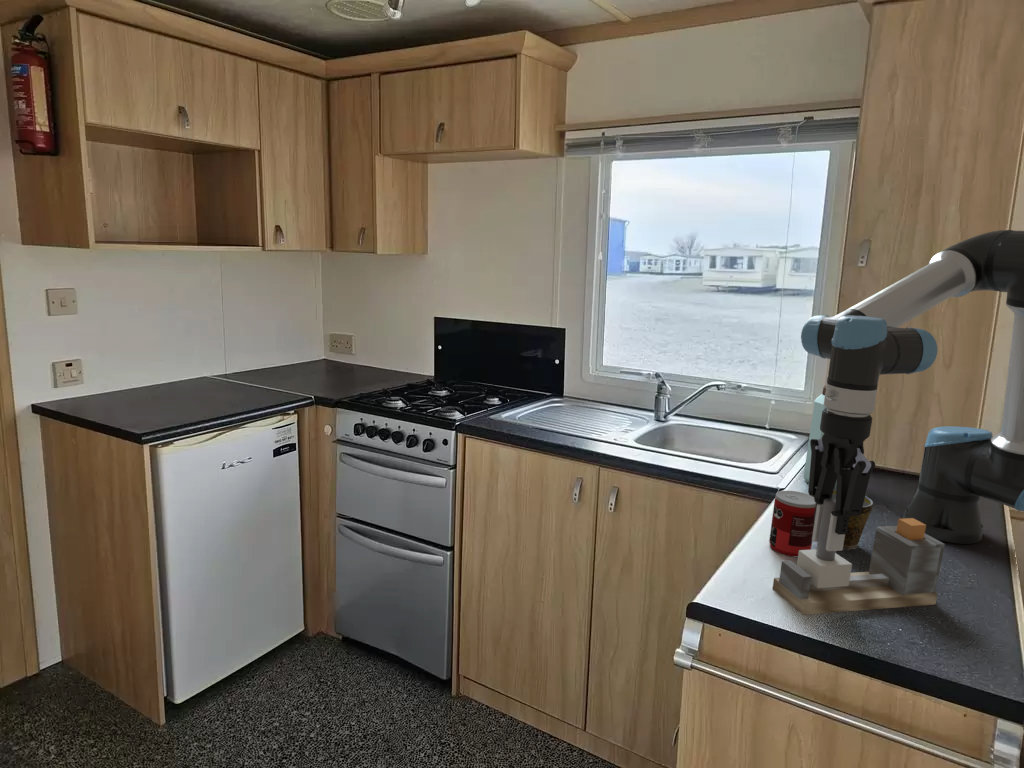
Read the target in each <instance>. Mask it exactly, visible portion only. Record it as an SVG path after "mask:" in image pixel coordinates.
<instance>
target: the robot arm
mask: <svg viewBox="0 0 1024 768" xmlns="http://www.w3.org/2000/svg"><path fill="white" fill-rule="evenodd" d="M979 291H980V292H981V291H992V292H998V293H999V292H1001V293H1006V301H1005V305H1006V307H1007V308H1008V309H1009V310H1010V311H1011V312H1012V313H1013V315H1014V316H1013V325H1012V333H1011V342H1010V351H1009V360H1008V366H1007V367H1008V368H1007V377H1006V384H1005V394H1004V401H1003V402H1004V403H1003V411H1002V413H1003V414H1002V420H1001V429H1000V432H998V433H997V434H995V435H993V433H992V431H990V430H988V429H984V428H977V427H969V426H955V425H954V426H949V425H947V426H937V427H934V428H931V429H930V430H929V432H928V433H927V437H926V441H925V444H924V446H923V447H924V449H923V455H922V456H923V457H922V463H921V466H920V467H921V468H920V474H919V478H918V485H917V490H916V491H915V493H914V495H913V496H912V498H911V500H910V502H909V504H908V506H907V507H906V508H905V509H904V512H903V517H902V519H905V518H914V519H916V520H918V521H920V522H921V523H923V524H925V525H926V528H925V534H927V535H929V536H931V537H933V538H934V539H936V540H938V541H940V542H946V543H951V544H952V543H953V544H963V545H965V544H967V545H969V544H976V543H979V542H981V540H983V534H984V526H983V524H982V517H981V516H982V515H981V508H980V500H981V498H984V499H987V500H990V501H992V502H995V503H998V504H1001V505H1003V506H1006V507H1010V508H1013V509H1014V510H1016V511H1019V512H1024V230H1013V229H999V230H993V231H989V232H985V233H982V234H979V235H975V236H972V237H970V238H967V239H965V240H962V241H959V242H957V243H955V244H953V245H951V246H949V247H946V248H945V249H943V250H941V251H939V252H938V253H936V254H935V255H933V256H932V258H931V259H930V260H929V262H928V264H927V265H924V266H923V267H920V268H919V269H917V270H915V271H914V272H912V273H910V274H909V275H907V276H905V277H903V278H902V279H900V280H898V281H896V282H894V283H892V284H891V285H889V286H887V287H885V288H883V289H882V290H880V291H878V292H876V293H874V294H872V295H871V296H869V297H867V298H865V299H864V300H862V301H860V302H857V304H854V305H853V306H851V307H849V308H847V309H845V310H844V311H842V312H840V313H838V314H836V315H833V316H830V315H828V314H827V315H826V314H825V315H813V316H812V317H810V318H809V319H807V320H806V322H805V323H804V325H803V327H802V329H801V332H800V340H801V345H802V348H803V349H804V351H805V352H807V353H808V354H810V355H814V356H817V357H820V358H822V359H828V360H829V366H828V372H827V379H826V385H825V386H826V392H825V398H824V406H825V407H826V409H824V410H823V411H822V416H821V423H820V430H821V431H822V432H823V433H824V435H823V436H822V439H811V440H810V445H811V452H812V453H811V465H810V476H809V483H808V489H807V491H808V495H810V496H813V497H814V501H815V502H816V506H815V513H814V519H815V522H814V529H813V536H812V542H814V543H818V536H819V530H820V523H821V516H822V510H823V503H824V499H832V495H833V491H834V489H836V506H835V511H831V517H830V524H829V530H828V537H827V543H826V550H827V551H836V552H837V551H838V552H839V551H844V550H843V544H844V538H845V534H846V533H847V531H848V524H849V518H850V516H860V515H861V511H862V507H863V503H864V499H865V496H866V494H867V490H868V486H869V480H870V477H871V474H872V473H873V471H874V469H875V468H876V462H875V461H874V460H868V458H867V457H866V456H865V448H864V443H865V441H866V440H867V439H869V437H870V435H871V429H872V424H873V417H872V415H871V414H873V413H874V412H875V408H876V407H875V406H876V399H877V394H878V393H877V392H878V384H879V380H880V375H901V374H904V375H905V374H906V375H912V374H914V373H920V372H924V371H926V370H928V369H929V368H930V367H932V365H933V364H934V363H935V362H936V359H937V355H938V344H937V343H938V342H937V340H936V339H935V338H934V337H935V336H933V335H932V333H930V332H929V331H927V330H925V329H923V328H915V327H910V326H907V327H906V328H905V327H902V326H903V325H904V324H907V323H908V322H910V321H912V320H913V319H915V318H917V317H919V316H921V315H922V314H925V312H928V311H930V310H931V309H932V308H934V307H936V306H937V305H939V304H942V303H943V302H945V301H946V300H949V299H950V298H960V297H964V296H966V295H967V294H969V293H972V292H979ZM836 480H837V484H836ZM835 484H836V488H834V487H835Z"/></svg>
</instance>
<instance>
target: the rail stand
mask: <svg viewBox="0 0 1024 768" xmlns="http://www.w3.org/2000/svg"><path fill="white" fill-rule="evenodd" d="M875 527H876V529H875V535H874V540H873V546H872V551H871V558H870V564H869V570H868V571H861V572H859V571H858V572H851V574H850V580H849V586H842V587H828V588H816V587H815V586H814V585H812V584H811V576H810V575H809V574H807V573H806V572H805V571H803V570H802V569H801V568H799V567H798V566H797V563H795V562H793V561H792V560H790V559H789V560H782V561H781V565H780V571H779V577H774V578H773V582H772V589H773V590H774V591H775V592H776V593H777V594H778V595H779V596H780V597H782V598H783V599H784V600H785V601H786V602H788V603H789V604H790V605H791V606H793V607H794V608H795V609H796V610H797V611H798V612H799V613H800V614H801V615H803V616H809V615H819V614H830V613H831V614H833V613H845V612H847V613H848V612H858V611H869V610H871V611H872V610H881V609H883V610H884V609H892V608H893V609H895V608H907V607H920V606H921V607H922V606H929V605H931V606H932V605H936V604H937V600H938V599H937V598H938V593H937V592H936V591H937V587H938V586H937V585H938V582H939V581H938V580H939V575H940V572H941V571H940V570H941V566H942V561H943V555H944V550H945V546H946V545H945V543H943V541H941V540H937V539H934V538H933V537H931V536H929V535H927V534H924V539H919V540H908V539H906V538H904V537H902V536H901V535H899V534H897V533H896V531H897V525H885V526H875Z"/></svg>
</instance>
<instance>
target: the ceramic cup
mask: <svg viewBox="0 0 1024 768" xmlns="http://www.w3.org/2000/svg"><path fill="white" fill-rule="evenodd" d="M812 497H813V496H812ZM832 499H836V488H834V491H833V495H832ZM873 506H874V502H873V500H872V499H871V498H869V497H868V496H866V495H865V499H864V503H863V507H862V511H861V515H860V516H850V518H849V524H848V531H847V533H846V534H845V538H844V544H843V549H844V550H843V551H851V550H850V549H852V550H855V549H854V548H856V549H857V548H858V545H859V543H860V540H861V537H862V534H863V531H864V529H865V526H866V524H867V522H868V519H869V517H870V515H871V512H872V509H873Z"/></svg>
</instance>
